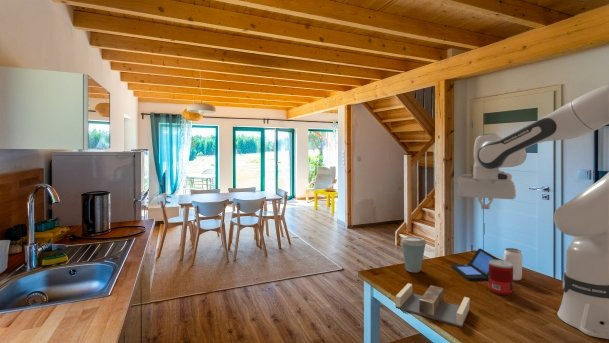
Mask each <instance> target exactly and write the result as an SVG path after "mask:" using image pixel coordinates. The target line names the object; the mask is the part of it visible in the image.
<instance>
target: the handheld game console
mask: <svg viewBox="0 0 609 343" xmlns="http://www.w3.org/2000/svg"><path fill="white" fill-rule="evenodd" d="M490 260H500V259H499V258H498V257H497V256H494V255H493V254H491V253H490V252H487V251H485V250H484V249H483V248H478V249H477V250H476V251H475V253H474V254H473V256H472V258H471V259H470V261H469V262H468V263H461V264H459V263H457V264H451V268H452V269H453V270H454V271H456V272H457V273H458V274H460V276H462V277H464V278H465V280H467V281H488V275H489V261H490Z"/></svg>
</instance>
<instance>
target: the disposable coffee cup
mask: <svg viewBox="0 0 609 343" xmlns="http://www.w3.org/2000/svg"><path fill="white" fill-rule="evenodd" d="M426 245H427V242H426V238H424V237H421V236H405V237H403V238H401V246H402V247H401V248H402V253H403V263H404V268H405V270H406V271H407V272H410V273H419V272H421V270H422V266H423V264H422V263H423V260H424V254H425V248H426Z"/></svg>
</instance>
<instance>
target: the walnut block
mask: <svg viewBox="0 0 609 343" xmlns="http://www.w3.org/2000/svg"><path fill="white" fill-rule="evenodd" d="M421 296H422V297H421V299H419V312H423V313H426V314H429V315H434V313H435V311H436V310H437V308H438V307H439V305H440V304H441V302H442V301H443V300H444V288H443V287H439V286H436V285H431V284H430V286H429V287H428V288H427V289H426V291H425V292H424V293H423V294H422V295H421Z"/></svg>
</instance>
